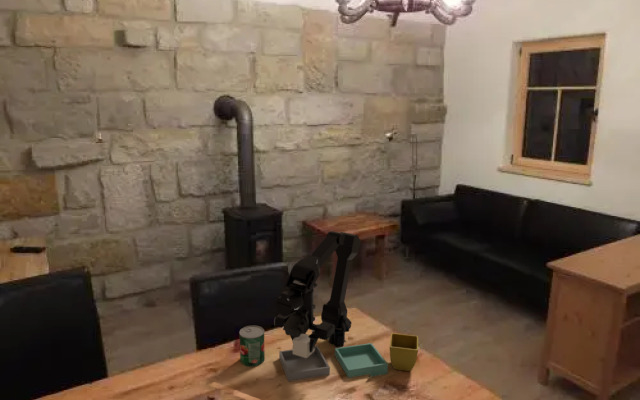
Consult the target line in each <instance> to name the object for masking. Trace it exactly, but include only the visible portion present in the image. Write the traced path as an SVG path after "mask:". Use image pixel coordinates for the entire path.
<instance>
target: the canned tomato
mask: <svg viewBox="0 0 640 400" xmlns="http://www.w3.org/2000/svg"><path fill="white" fill-rule="evenodd" d="M265 352H266V351H265V329H264V328H263V327H262V326H259V325H247V326H244V327H243V328H241V329H240V330H239V361H240V363H241V365H243V366H245V367H250V368H251V367H258V366H261V365H262V364H263V363H264V361H265V356H266V353H265Z"/></svg>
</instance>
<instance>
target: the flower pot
mask: <svg viewBox="0 0 640 400" xmlns="http://www.w3.org/2000/svg"><path fill="white" fill-rule="evenodd" d="M418 352H419V337H418V335H413V334H412V335H411V334H403V333H394V332H392V333H391V334H390V341H389V359H390V363H391V366H392V367H393V369H394V370H399V371H405V372H411V371H412V370H413V369H414V367H415V365H416V362H417V358H418V357H417V356H418V354H419V353H418Z"/></svg>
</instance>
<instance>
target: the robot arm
mask: <svg viewBox="0 0 640 400" xmlns="http://www.w3.org/2000/svg"><path fill="white" fill-rule="evenodd" d="M361 244H362V241H361V238H360V237H359V235H358V234H353V233H349V232H344V231H340V232H339V231H333V230H331V231H328V232H327V234H326V237H325V238H324V239H323V240H322V242H320V243H319V244H318V246H317V247H316V248H315V249H314V250H313V251H312V252H311V253H310V254H309V256H307V257H304V258H301V259H299V261H297V262H296V263H295V264H294V265H293V266H292V267H291V270H290V273H289V275H288V278H287V280H286V282H285V285H284V288H286V289H287V290H285V291H283V292H280V296H279V297H278V298H276V301H275V308H276V309H275V310H276V311H277V312H278V314H277V316H275V317H274V319H273V323H274V324H273V325H274V327H278V328H282V331H284V333H285V335H286V336H290V338H291V341H292V342H293V339H294V338H295V337H299V336H300V335H301V334H307V332H308V331H311V333H310V334H308V335H309V336H308V337H309V338H310V348H309V349H310V353H311V352H312V351H313V349H314V347H315V346H317V345H316V344H317V343H318V340H319V339H320V340H323V341H326V340H328V343H329V344H330V345H332V346H334V347H335V348H341V347H345V343H347V341H346V333H348V332H350V329H351V327H352V323H353V322H352V321H351V320H350V319H349V318H348V309H347V306H346V303H345V299H346V293H347V289H348V283H349V282H348V281H349V276H350V272H351V266H352V260H353V259H354V258H355V257H356V255H358V254H359V250H360V248H361ZM333 253H335V255H336V257H337V258H336V259H337V260H336V264H335V271H334V274H333V281H332V286H331V292H330V298H329V300H328V301H327V302H326V303H324V304H323V305H322V311H321V315H320V318H321V323H316V324H315V323H314V322H315V321H316V317H315V316H314V310H315V309H316V304H314V294H315V293H314V290H315V289H314V288H316V287H318V283H316V282H317V281H318V278H319V277H320V275H321V268H322V267H323V265H324V264H325V263H326V262H327V261H328V259H329V258H330V257H331V256H332V255H333ZM295 282H297V283H295ZM298 283H300V284H298Z"/></svg>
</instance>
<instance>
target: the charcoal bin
mask: <svg viewBox="0 0 640 400" xmlns="http://www.w3.org/2000/svg"><path fill="white" fill-rule="evenodd" d="M278 354H279V355H278V356H279V357H278V358H279V361H280V363H281V366H282V369H283V371H284V374H285V376H286V379H287V381H288V382H292V381H293V382H294V381H299V380H305V379H306V380H307V379H313V378H318V377H319V378H320V377H323V376H330V375H331V373H330V372H331V371H330V370H331V366H330V365H329V364H328V361H327V360H326V357H324V354H323V353H322V351H321V349H320V347H319V345H315V351H314V352H313V353H312V354H311V355H310V356H309V357H308V358H304V357H301V356H297V355H294V354H293V348H292V349H285V350H279V352H278Z"/></svg>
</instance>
